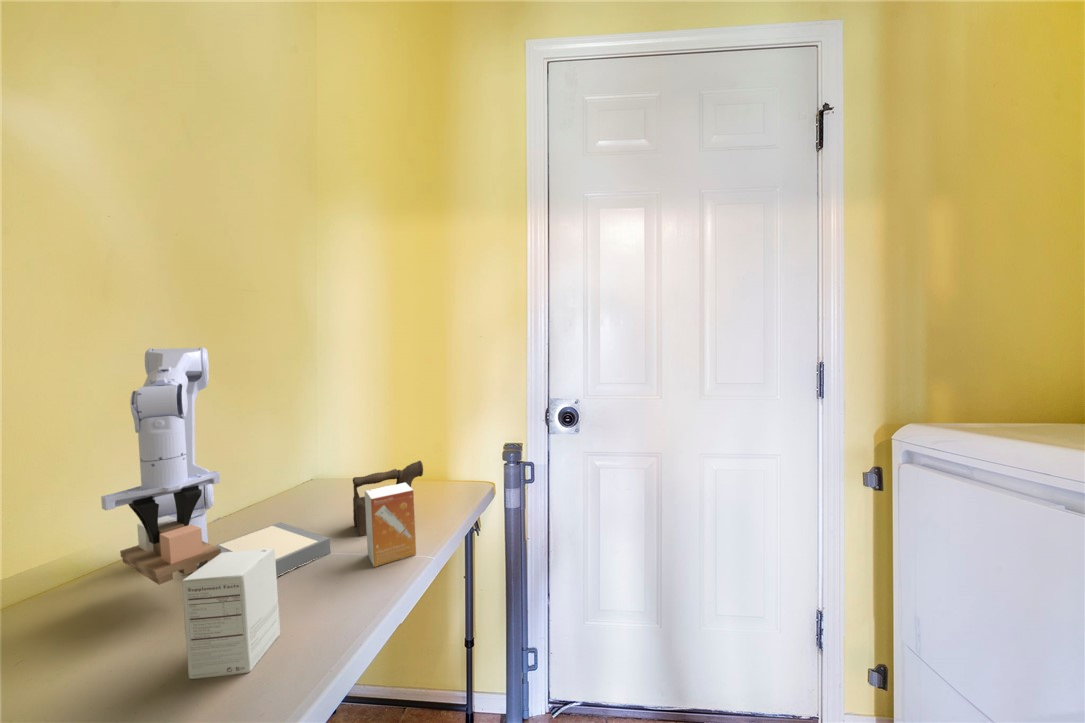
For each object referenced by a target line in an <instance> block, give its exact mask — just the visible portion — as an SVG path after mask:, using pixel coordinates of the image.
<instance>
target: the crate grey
mask: <svg viewBox="0 0 1085 723" xmlns="http://www.w3.org/2000/svg"><path fill="white" fill-rule="evenodd" d="M173 521H176V519H175V518H173V517H170V516H164V517H161V518H158V526H159V525H163V524H166V523H170V522H173ZM136 527H137V541H138V545H139V547H140V548H142V549H143V550H145V551H150V550H153V544H152V543H151V542H149V538H148V535H147V532H146V530H145V528H144V526H143V524H142V522H140V523H137V524H136Z"/></svg>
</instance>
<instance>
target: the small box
mask: <svg viewBox="0 0 1085 723" xmlns="http://www.w3.org/2000/svg"><path fill="white" fill-rule="evenodd" d="M414 495H415V492H414V489H413V488H412V486H411V487H410V486H409V485H407V484H406V483H401V484H396V483H395V484H391V485H386V486H381V487H378V488H373V489H368V490H364V497H365V508H366V532H367V535H366V546H367V556H368V558H369V561H370V562H371V564H372V566H373V568H376V567H379V566H381V565H385V564H389V563H392V562H396V561H399V560H402V559H405V558H409V557H412V556H416V555H417V543H416V542H417V539H416V517H415V516H416V515H415V497H414Z"/></svg>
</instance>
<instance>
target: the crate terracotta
mask: <svg viewBox="0 0 1085 723" xmlns="http://www.w3.org/2000/svg"><path fill="white" fill-rule="evenodd" d="M160 546H161V559H162V560H164V561H166V562H168V563H170V564H173V563H176V562H178V561H181V560H184V559H187V558H190V557H192V556H195V555H198V554H201V553H203V547H202V532H201V528H199V527H197V526H194V525H188V526H185V527H181V528H178V529H175V530H172V531H168V532H165V533H162V534H160Z"/></svg>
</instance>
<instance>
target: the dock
mask: <svg viewBox="0 0 1085 723" xmlns="http://www.w3.org/2000/svg"><path fill="white" fill-rule="evenodd" d="M214 546H215V547H218V548H220V549H221V553H224V552H235V551H246V550H256V549H271V548H272V549H275V562H276V576H278V575H280V574H282V573H284V572H286V571H288V570H291V569H293V568H295V567H298V566H299V565H302V564H304V563H307V562H309V561H311V560H313V559H316V558H319V557H321V558H323V557H325V556H327V555H330V554H331V538H330V537H327V536H324V535H321V534H318V533H314V532H311V531H309V530H306V529H302V528H299V527H296V526H293V525H291V524H290V525H289V524H287V523H283V522H278V523H274V524H272V525H269V526H266V527H264V528H263V527H262V528H260V529H258V530H255V531H252V532H249V533H246V534H244V535H241V536H238V537H235V538H232V539H229V540H227V541H224V542H221V543H218V544H214ZM326 554H327V555H326ZM324 555H325V556H324ZM322 556H323V557H322ZM319 559H320V558H319ZM316 560H317V559H316ZM204 565H205V564H203V563H201V562H200V563H198V567H199V568H201V567H202V566H204Z"/></svg>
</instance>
